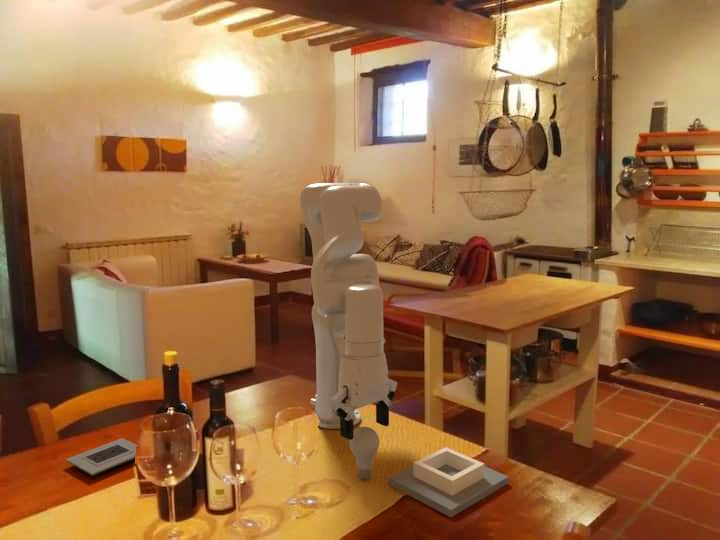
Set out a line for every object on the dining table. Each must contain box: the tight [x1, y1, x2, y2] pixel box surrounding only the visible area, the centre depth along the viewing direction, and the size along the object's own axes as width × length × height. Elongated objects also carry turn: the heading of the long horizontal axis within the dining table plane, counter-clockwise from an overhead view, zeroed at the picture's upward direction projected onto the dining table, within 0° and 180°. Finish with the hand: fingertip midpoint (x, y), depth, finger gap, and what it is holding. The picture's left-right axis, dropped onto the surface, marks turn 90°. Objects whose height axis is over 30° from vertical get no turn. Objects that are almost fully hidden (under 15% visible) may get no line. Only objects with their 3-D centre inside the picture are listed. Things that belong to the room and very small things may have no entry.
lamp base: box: [388, 446, 509, 518], centre depth 121 cm, size 16×18×4 cm
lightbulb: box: [348, 426, 380, 480], centre depth 122 cm, size 6×6×11 cm
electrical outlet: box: [65, 438, 137, 477], centre depth 131 cm, size 13×10×2 cm
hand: (365, 430), depth 121 cm, fingers open, 9 cm apart
